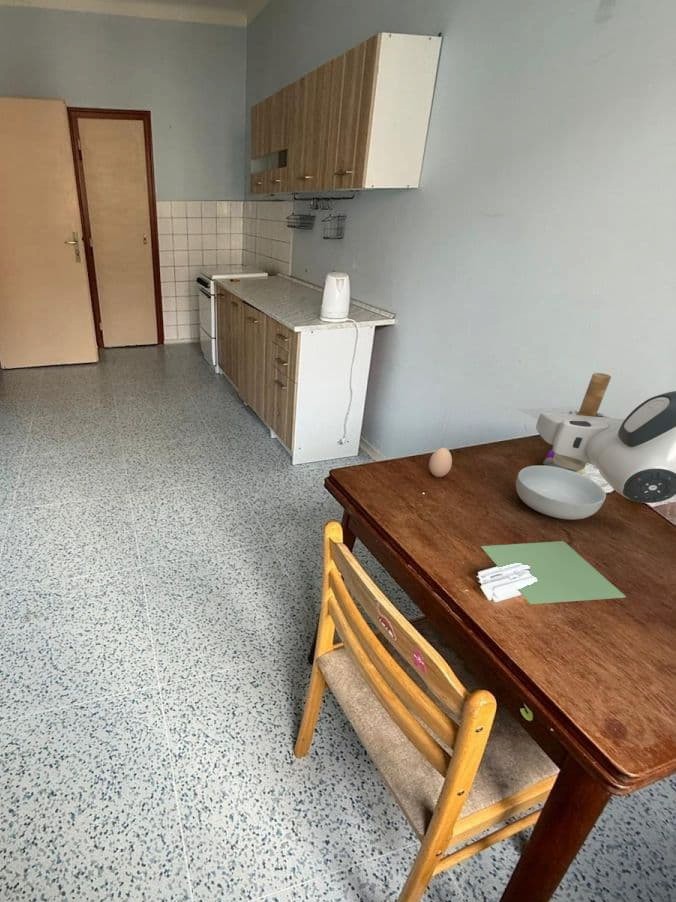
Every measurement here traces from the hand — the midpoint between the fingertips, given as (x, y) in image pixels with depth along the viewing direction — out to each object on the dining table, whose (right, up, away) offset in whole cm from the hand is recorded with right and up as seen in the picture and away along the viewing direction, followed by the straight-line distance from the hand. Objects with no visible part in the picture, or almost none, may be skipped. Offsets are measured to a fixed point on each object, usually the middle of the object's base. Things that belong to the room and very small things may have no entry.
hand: (584, 415), depth 99 cm
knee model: (+17, -10, +30) cm, 36 cm away
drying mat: (-13, -31, -8) cm, 35 cm away
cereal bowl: (0, -21, +11) cm, 24 cm away
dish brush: (0, -10, +4) cm, 11 cm away
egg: (-20, -14, +25) cm, 35 cm away
